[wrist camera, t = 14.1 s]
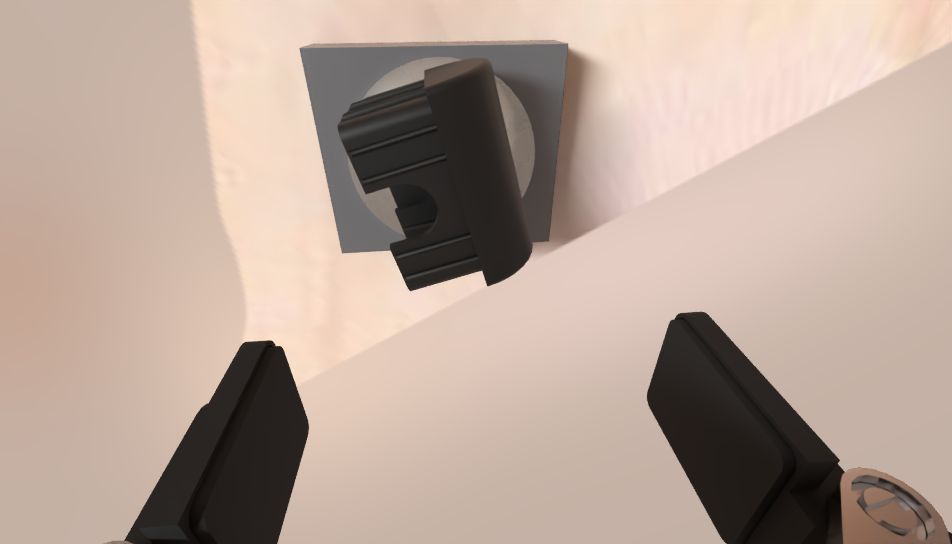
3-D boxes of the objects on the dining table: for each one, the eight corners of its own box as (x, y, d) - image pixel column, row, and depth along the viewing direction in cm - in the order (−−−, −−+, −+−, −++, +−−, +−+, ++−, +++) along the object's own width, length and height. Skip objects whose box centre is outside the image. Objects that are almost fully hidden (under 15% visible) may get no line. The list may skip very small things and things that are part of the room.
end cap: (519, 216, 27) (545, 272, 21) (416, 247, 27) (414, 309, 22) (480, 49, 22) (500, 64, 16) (351, 91, 22) (326, 119, 16)
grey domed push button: (553, 40, 25) (570, 44, 22) (538, 222, 31) (550, 243, 28) (312, 43, 24) (297, 48, 21) (348, 232, 30) (341, 256, 27)
